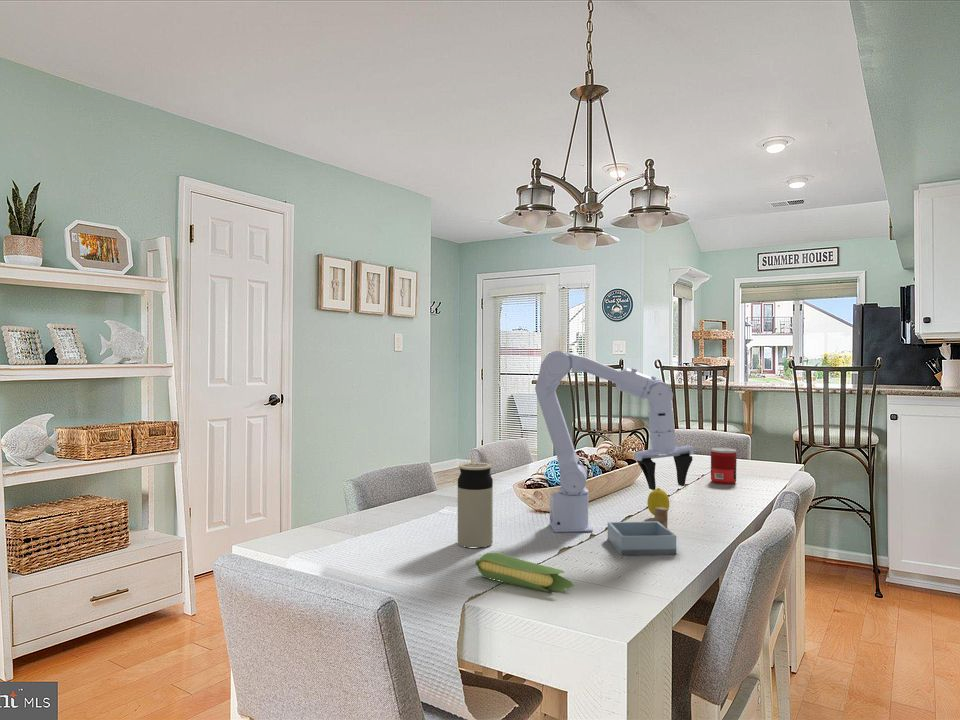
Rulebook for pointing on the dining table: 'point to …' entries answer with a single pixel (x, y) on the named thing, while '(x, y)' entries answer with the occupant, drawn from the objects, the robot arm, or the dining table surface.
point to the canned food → (723, 465)
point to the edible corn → (521, 572)
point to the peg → (661, 515)
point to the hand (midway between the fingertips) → (666, 487)
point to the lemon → (657, 500)
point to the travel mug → (475, 505)
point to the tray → (641, 538)
